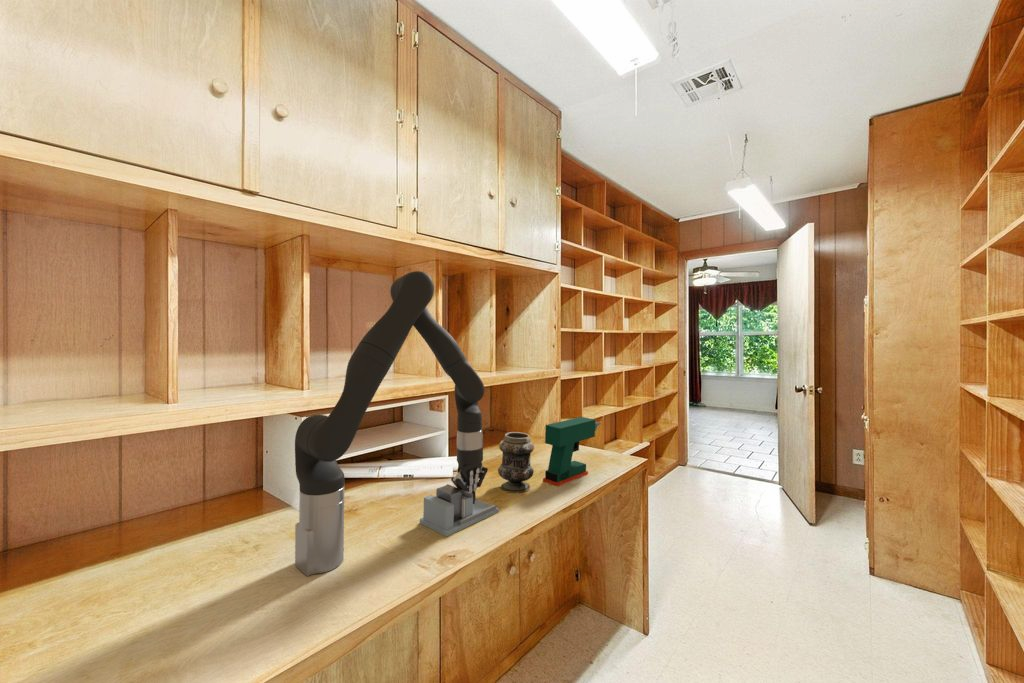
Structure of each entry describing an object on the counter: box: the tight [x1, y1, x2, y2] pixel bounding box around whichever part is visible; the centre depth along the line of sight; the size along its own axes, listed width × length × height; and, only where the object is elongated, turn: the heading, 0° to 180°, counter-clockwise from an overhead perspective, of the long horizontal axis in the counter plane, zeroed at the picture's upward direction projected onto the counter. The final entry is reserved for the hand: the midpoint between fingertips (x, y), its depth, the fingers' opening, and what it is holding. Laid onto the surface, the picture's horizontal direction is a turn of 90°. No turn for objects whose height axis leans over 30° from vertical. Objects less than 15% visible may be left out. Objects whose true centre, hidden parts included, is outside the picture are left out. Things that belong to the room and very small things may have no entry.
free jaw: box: [446, 483, 473, 519], centre depth 120 cm, size 3×10×7 cm, turn 50°
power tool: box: [542, 416, 602, 487], centre depth 159 cm, size 32×7×20 cm, turn 136°
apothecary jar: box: [497, 431, 535, 494], centre depth 144 cm, size 12×12×18 cm
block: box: [435, 484, 462, 523], centre depth 117 cm, size 4×6×8 cm, turn 50°
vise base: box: [419, 494, 500, 537], centre depth 120 cm, size 20×11×7 cm, turn 140°
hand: (470, 503), depth 123 cm, fingers closed
